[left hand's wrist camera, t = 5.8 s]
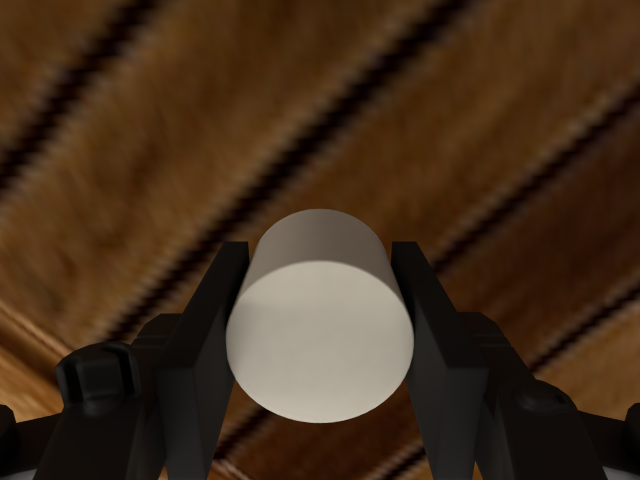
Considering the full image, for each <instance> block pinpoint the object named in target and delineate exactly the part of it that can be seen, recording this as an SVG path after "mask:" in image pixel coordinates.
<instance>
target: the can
mask: <svg viewBox="0 0 640 480" xmlns="http://www.w3.org/2000/svg"><path fill="white" fill-rule="evenodd" d="M226 349H227V359H228V362H229V365H230V368H231V370H232V372H233V374H234V376H235V378H236V380H237V381H238V383H239V384H240V386H241V387H242V388H243V389H244V390H245V392H246V393H247V394H248V395H249V396H250V397H251V398H253V399H254V400H255V401H256V402H257V403H259V404H260V405H262V406H263V407H265V408H266V409H268V410H270V411H272V412H274V413H276V414H278V415H281V416H284V417H286V418H290V419H294V420H298V421H304V422H313V423H326V422H336V421H342V420H346V419H350V418H353V417H356V416H359V415H361V414H363V413H366V412H368V411H369V410H371V409H373V408H375V407H376V406H378V405H379V404H381V403H382V402H383V401H385V400H386V399H387V398H388V397H389V396H390V395H391V394H392V393H393V392H394V391H395V390H396V389H397V387H398V386H399V385H400V383H401V382H402V380H403V379H404V377H405V375H406V373H407V371H408V369H409V367H410V364H411V360H412V357H413V350H414V331H413V325H412V321H411V318H410V315H409V312H408V310H407V307H406V304H405V302H404V299H403V296H402V294H401V291H400V288H399V286H398V283H397V280H396V278H395V275H394V272H393V270H392V267H391V264H390V262H389V259H388V256H387V254H386V251H385V249H384V247H383V245H382V243H381V241H380V240H379V238H378V237H377V235H376V234H375V233H374V232H373V231H372V230H371V229H370V228H369V227H368V226H367V225H365V224H364V223H363V222H361V221H360V220H358V219H357V218H355V217H353V216H350V215H348V214H346V213H342V212H339V211H335V210H329V209H312V210H305V211H301V212H297V213H294V214H292V215H289V216H287V217H285V218H283V219H282V220H280V221H279V222H277V223H276V224H274V225H273V226H272V227H271V228H270V229H269V230H268V231H267V232H266V233H265V234H264V235H263V237H262V238H261V239H260V241H259V243H258V244H257V246H256V249H255V251H254V253H253V256H252V258H251V261H250V264H249V266H248V269H247V271H246V274H245V277H244V279H243V282H242V284H241V287H240V290H239V292H238V295H237V297H236V300H235V303H234V305H233V308H232V310H231V313H230V316H229V319H228V322H227V326H226Z"/></svg>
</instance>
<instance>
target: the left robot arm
mask: <svg viewBox="0 0 640 480" xmlns="http://www.w3.org/2000/svg"><path fill="white" fill-rule="evenodd" d="M248 266H249V248H248V242H224V243H223V245H222V246H221V248H220V250H219V252H218V253H217V255H216V257H215V259H214V260H213V262H212V264H211V265H210V267H209V269H208V271H207V272H206V274H205V276H204V277H203V279H202V281H201V283H200V284H199V286H198V288H197V289H196V291H195V293H194V295H193V296H192V298H191V300H190V301H189V303H188V305H187V307H186V308H185V310H184V312H183V314H159V315H158V316H156V317H155V318H154V319H152V320H151V321H149V322H148V323H146V324H145V325H144V327H143V328H142V329H141V331H140V332H139V334H138V335H137V339H134V341H133V342H132V344H131V345H129V344H126V343H122V342H101V343H96V344H92V345H88V346H85V347H83V348H80V349H78V350H75V351H73V352H72V353H70V354H69V355H67V356H66V357H64V358H63V359H62V360H61V361H60V362H59V363H58V364H57V366H56V367H55V370H56V374H57V379H58V383H59V387H60V391H61V395H62V399H63V403H64V408H63V410H62V413H58V414H55V415H51V416H47V417H42V418H37V419H33V420H28V421H23V422H19V423H16V420H15V417H14V413H13V411H12V410H11V409H10V408H9V407H8V406H6V405H1V404H0V480H158V478H159V476H160V473H161V471H162V468H163V466H164V464H165V462H166V468H167V475H168V480H207V477H208V474H209V470H210V466H211V463H212V459H213V456H214V452H215V449H216V445H217V442H218V438H219V434H220V431H221V427H222V424H223V420H224V417H225V413H226V410H227V406H228V402H229V399H230V395H231V392H232V388H233V385H234V381H235V376H234V374H233V372H232V370H231V368H230V365H229V362H228V359H227V349H226V326H227V322H228V319H229V316H230V313H231V310H232V308H233V305H234V303H235V300H236V297H237V295H238V292H239V290H240V287H241V284H242V282H243V279H244V277H245V274H246V271H247V269H248ZM391 267H392V270H393V272H394V275H395V278H396V280H397V283H398V286H399V288H400V291H401V294H402V296H403V299H404V302H405V304H406V307H407V310H408V312H409V315H410V318H411V321H412V325H413V331H414V350H413V357H412V360H411V364H410V367H409V369H408V371H407V373H406V375H405V380H406V383H407V387H408V390H409V394H410V398H411V401H412V405H413V408H414V412H415V415H416V419H417V422H418V426H419V430H420V433H421V437H422V440H423V444H424V447H425V451H426V454H427V458H428V462H429V465H430V469H431V472H432V476H433V479H434V480H472V477H473V470H474V464H475V460H476V463H477V465H478V468H479V470H480V473H481V475H482V478H483V480H640V403H635V404H634V405H632V406H631V407H630V408H629V409H628V411H627V415H626V418H625V421H621V420H617V419H612V418H607V417H603V416H598V415H593V414H589V413H586V412H582V411H579V410H577V407H576V405H575V404H574V403H573V401H572V400H571V398H570V397H569V396H568V395H567V394H565V393H564V392H563V391H561V390H560V389H559V388H557V387H555V386H553V385H551V384H548V383H546V382H544V381H541V380H536V379H535V378H534V376H533V375H532V373H531V372H530V371H529V369H528V368H527V366H526V365H525V364H524V362H523V361H522V359H521V358H520V357H519V355H518V354H517V352H516V351H515V350H514V348H513V347H511V344H510V343H509V341H508V340H507V338H506V337H504V334H503V333H502V331H501V330H500V328H499V327H498V326H497V324H496V323H495V322H494V321H492V320H491V319H489V318H488V317H486V316H485V315H483V314H482V313H480V312H457V311H456V309H455V308H454V306H453V304H452V302H451V301H450V299H449V297H448V296H447V294H446V292H445V290H444V289H443V287H442V285H441V284H440V282H439V280H438V278H437V277H436V275H435V273H434V272H433V270H432V268H431V266H430V265H429V263H428V261H427V260H426V258H425V256H424V254H423V253H422V251H421V249H420V247H419V246H418V244H417V242H392V255H391Z"/></svg>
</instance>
